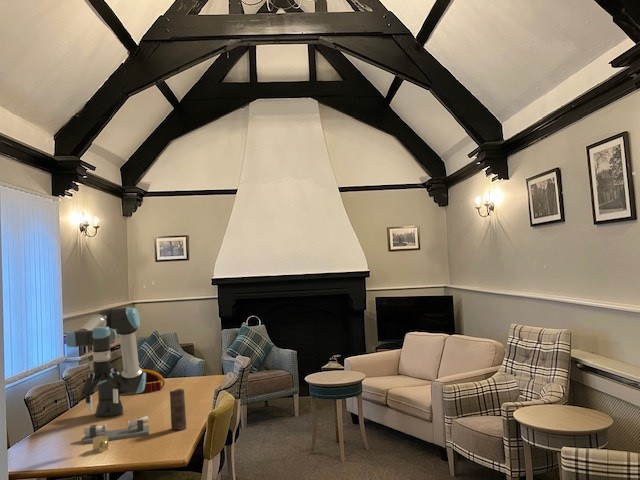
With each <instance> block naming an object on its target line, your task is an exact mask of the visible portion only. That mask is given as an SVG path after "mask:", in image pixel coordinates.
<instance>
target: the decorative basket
mask: <svg viewBox="0 0 640 480" xmlns="http://www.w3.org/2000/svg"><path fill="white" fill-rule="evenodd" d="M141 369H142V372H145V373H146V383H145V388H144V391H143V392H142V393H154V392H160V391H161V390H162V388H163V387H164V386H165V384H166V380H165V378H164V377H163V375H161V374H160V373H159V372H157V371H156V370H153V369H145V368H144V369H143V368H141Z"/></svg>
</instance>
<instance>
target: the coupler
mask: <svg viewBox="0 0 640 480" xmlns="http://www.w3.org/2000/svg"><path fill="white" fill-rule="evenodd" d="M108 450H109V441H108V436H103V435H100V436H97V437H95V438H93V443H92V452H94V453H99V454H100V453H103V452H105V451H108Z"/></svg>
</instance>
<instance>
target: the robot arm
mask: <svg viewBox="0 0 640 480" xmlns="http://www.w3.org/2000/svg"><path fill="white" fill-rule="evenodd" d="M140 326H141V318H140V312H139V311H138V309H136V307H129V306H127V307H120V308H106V309H103V310H100V311H98V312H95V313H94V314H93V315H91V316H90V317H89V318H88V320H87V322H85V324H84V325H82V326H81V327H79V329H78V330H73V331H68V332H66V335H65V345H66V346H67V347H68V348H81V347H92V360H93V363H92V364H93V366H92V367H93V373H90V372H88V373H87V374H86V375H87V377H86V381H85V383H84V386H83V388H82V391H81V396H85V404H86V409H87V411H93V395H92V393H94V390H95V388H96V387H97V399H98V401H97V406H96V407H95V411H94V412H95V415H94V416H95V417H96V416H97V418H109V417H115V416H119V415H121V414H123V413H124V406H123V403H122V401H121V399H120V397H121V395H132V394H133V395H135V394H141V393H144V392H143V391H144V388H145V383H146V373H145V372H142V369H143V368H142V367H140V362H139V355H138V344H137V337H136V332H137V331H138V329H139V328H140ZM118 336H119V343H120V350H121V358H122V360H121V361H122V366H123V367H122V368H123V371H121V373H120V371H118V370H117V368H116V367H112V366H111V365H112V364H111V362H112V361H111V345H112V344H114V342H115V341H116V339H117V337H118Z"/></svg>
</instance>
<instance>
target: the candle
mask: <svg viewBox="0 0 640 480" xmlns="http://www.w3.org/2000/svg"><path fill="white" fill-rule="evenodd" d="M185 399H186V398H185V389H184V388H177V389H174V390H169V400H170V401H169V402H170V423H171V424H170V425H171V429H173V430H174V429H175V430H186V429H187V416H186V415H187V414H186V400H185Z"/></svg>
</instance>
